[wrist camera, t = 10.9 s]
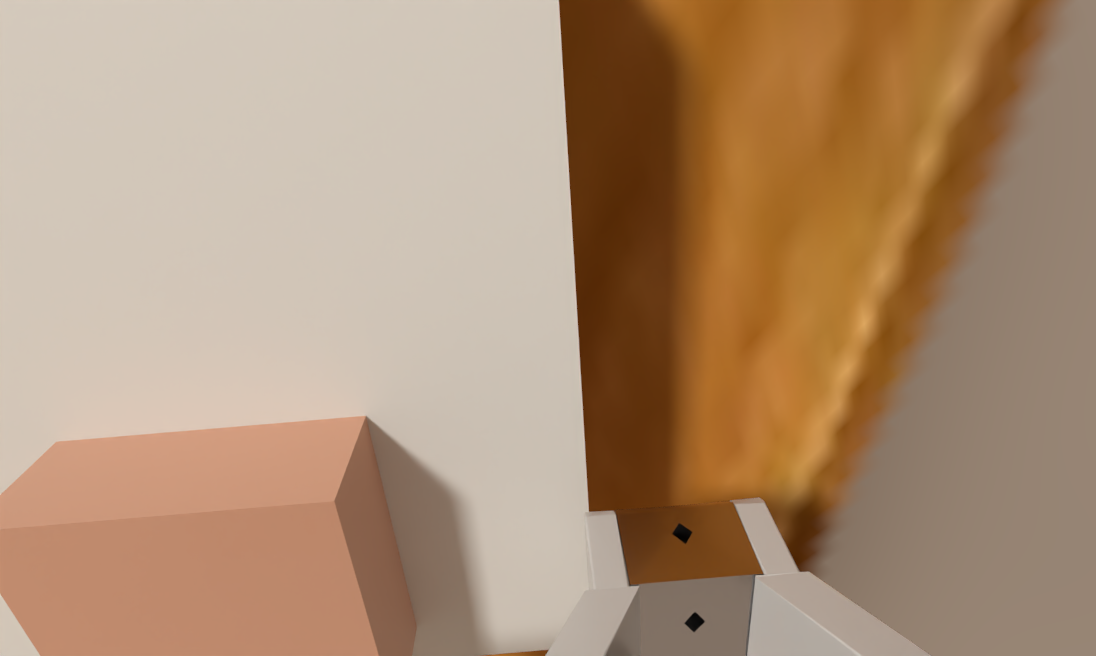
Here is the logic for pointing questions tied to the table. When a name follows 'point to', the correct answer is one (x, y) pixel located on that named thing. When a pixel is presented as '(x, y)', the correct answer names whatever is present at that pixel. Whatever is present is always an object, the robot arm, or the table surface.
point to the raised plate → (310, 265)
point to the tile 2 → (207, 545)
